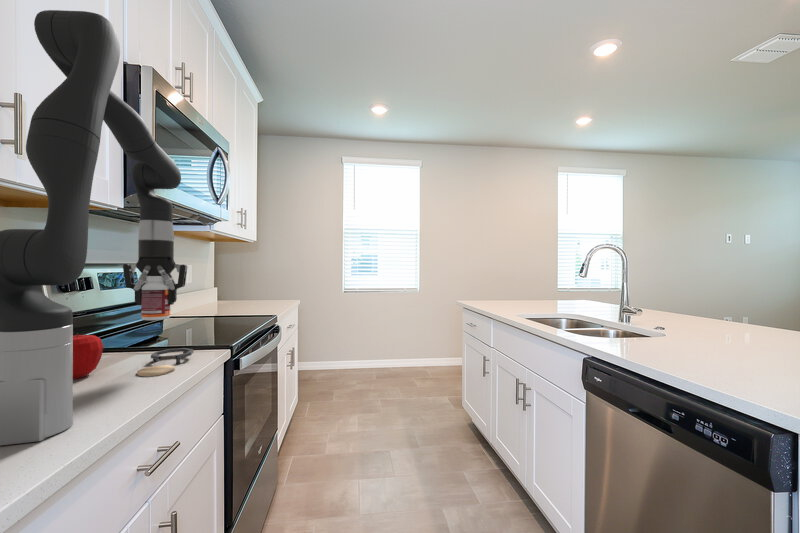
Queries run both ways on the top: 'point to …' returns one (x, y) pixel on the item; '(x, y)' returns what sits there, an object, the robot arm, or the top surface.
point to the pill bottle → (155, 299)
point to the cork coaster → (156, 370)
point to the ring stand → (185, 351)
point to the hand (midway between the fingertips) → (156, 304)
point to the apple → (86, 354)
